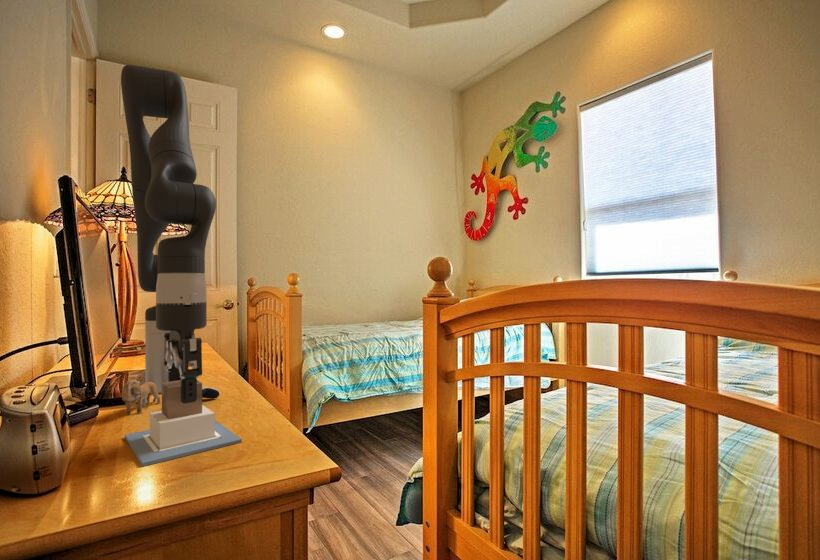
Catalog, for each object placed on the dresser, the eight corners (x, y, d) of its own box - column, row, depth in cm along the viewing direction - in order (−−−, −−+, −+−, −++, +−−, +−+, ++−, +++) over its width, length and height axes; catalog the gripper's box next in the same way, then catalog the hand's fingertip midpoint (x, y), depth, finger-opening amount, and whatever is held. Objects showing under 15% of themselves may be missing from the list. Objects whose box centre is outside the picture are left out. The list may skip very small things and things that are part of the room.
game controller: (201, 403, 87) (180, 384, 88) (184, 423, 87) (162, 404, 88) (223, 392, 97) (203, 374, 97) (207, 410, 97) (188, 392, 97)
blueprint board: (124, 437, 73) (124, 433, 73) (211, 419, 82) (211, 416, 82) (142, 466, 61) (142, 462, 61) (241, 442, 70) (241, 438, 70)
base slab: (149, 436, 72) (149, 412, 72) (200, 425, 77) (200, 403, 77) (160, 449, 66) (160, 423, 66) (214, 437, 71) (214, 413, 71)
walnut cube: (161, 412, 72) (161, 382, 72) (194, 406, 75) (193, 378, 75) (168, 419, 68) (168, 387, 68) (202, 413, 71) (202, 383, 71)
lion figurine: (140, 418, 83) (140, 381, 83) (115, 420, 83) (115, 382, 83) (164, 402, 95) (164, 369, 95) (143, 403, 94) (143, 370, 94)
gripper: (147, 300, 75) (147, 393, 74) (166, 302, 64) (166, 410, 64) (194, 299, 80) (194, 386, 79) (218, 300, 69) (219, 401, 69)
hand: (182, 397), depth 71 cm, fingers open, 8 cm apart
